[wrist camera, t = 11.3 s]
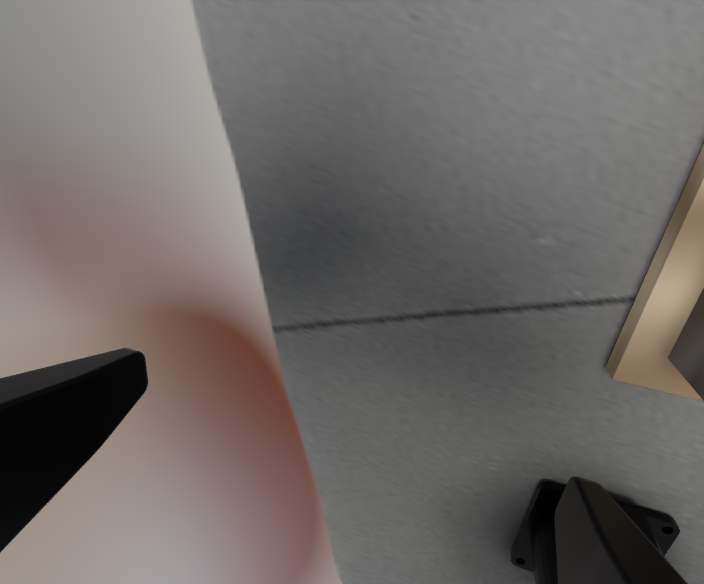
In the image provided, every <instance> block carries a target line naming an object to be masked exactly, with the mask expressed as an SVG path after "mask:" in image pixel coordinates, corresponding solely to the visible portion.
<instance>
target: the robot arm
mask: <svg viewBox="0 0 704 584" xmlns="http://www.w3.org/2000/svg"><path fill="white" fill-rule="evenodd" d="M147 385H148V377H147V369H146V362H145V356H144V355H143V353H141V352H139V351H136V350H132V349H129V348H123V349H118V350H115V351H110V352H106V353H102V354H98V355H94V356H90V357H86V358H82V359H78V360H73V361H69V362H65V363H61V364H57V365H53V366H49V367H45V368H41V369H37V370H33V371H29V372H25V373H21V374H17V375H13V376H9V377H4V378H1V379H0V552H1V551H2V550H3V549H4V548H5V547H6V546H7V545H8V544H9V543H10V542H11V541H12V539H14V538H15V537H16V535H18V533H19V532H20V531H21V530H22V529H23V528H24V527H25V526H26V525H27V524H28V523H29V522H30V521H31V520H32V519H33V518H34V517H35V516H36V515H37V514H38V513H39V512H40V510H41V509H42V508H43V507H44V506H45V505H46V504H47V503H48V502H49V501H50V500H51V499H52V498H53V497H54V496H55V495H56V494H57V493H58V492H59V490H61V488H62V487H63V486H64V485H65V484H66V483H67V482H68V481H69V480H70V479H71V478H72V477H73V476H74V475H75V474H76V473H77V472H78V471H79V470H80V468H82V466H83V465H84V464H85V463H86V462H87V461H88V460H89V459H90V458H91V457H92V456H93V455H94V454H95V453H96V451H97V450H98V449H99V448H100V447H101V446H102V445H103V443H104V442H105V441H106V440H107V439H108V437H109V436H110V435H111V434H112V432H113V431H114V430H115V429H116V427H117V426H118V425H119V424H120V422H121V421H122V420H123V419H124V417H125V416H126V415H127V414H128V413H129V411H130V410H131V408H133V406H134V405H135V404H136V403H137V401H138V400H139V399H140V398H141V396H142V395H143V394H144V392H145V391H146V389H147ZM547 491H551V492H547ZM666 526H667V527H666ZM679 532H680V530H679V527H678V525H677V523H676V521H675V520H674V519H673V518H671V517H669V516H665V515H662V514H659V513H655V512H652V511H648V510H645V509H642V508H638V507H635V506H631V505H628V504H624V503H621V502H618V501H614V500H613V499H612V497H611V496H610V495H609V494H608V493H607V492H606V491H605V489H604V488H603V487H602V486H601V485H600V484H598V483H596V482H594V481H591V480H587V479H584V478H580V477H576V476H575V477H572V478H571V479H570V480H569V481H568V483H567V485H566V486H563V485H560V484H556V483H553V482H548V481H547V482H542V483H540V484H539V486H538V488H537V490H536V493H535V495H534V497H533V500H532V502H531V505H530V507H529V509H528V512H527V514H526V517H525V519H524V521H523V524H522V526H521V528H520V531H519V533H518V536H517V538H516V540H515V543H514V545H513V548H512V550H511V561H512V563H513V564H514V565H516V566H518V567H520V568H523V569H526V570H529V571H532V572H534V573H535V580H536V584H687V582H686V581H685V580H684V579H683V578H682V577H681V576H680V574H679V573H678V572H677V571H676V570H675V569H674V568H673V567H672V565H671V564H670V563H669V562H668V561H667V560H666V559H665V557H664V556H665V554H666V553H667V551H668V550H669V548H670V547H671V545H672V544H673V542H674V541H675V539H676V538H677V536H678V535H679Z"/></svg>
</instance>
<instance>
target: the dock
mask: <svg viewBox="0 0 704 584" xmlns="http://www.w3.org/2000/svg"><path fill="white" fill-rule="evenodd" d="M606 369H607V371H608V373H609V374H610V376H611V378H612V379H613V380H617V381H621V382H626V383H630V384H634V385H639V386H643V387H647V388H651V389H656V390H660V391H664V392H669V393H673V394H677V395H681V396H686V397H690V398H694V399H699V400H703V401H704V144H703V147H702V149H701V151H700V154H699V156H698V158H697V160H696V163H695V165H694V167H693V169H692V172H691V174H690V176H689V179H688V181H687V183H686V185H685V188H684V190H683V192H682V194H681V197H680V199H679V201H678V204H677V206H676V208H675V210H674V213H673V215H672V217H671V219H670V222H669V224H668V226H667V229H666V231H665V233H664V235H663V238H662V240H661V242H660V244H659V247H658V249H657V251H656V253H655V256H654V258H653V260H652V263H651V265H650V267H649V269H648V272H647V274H646V276H645V278H644V281H643V283H642V285H641V288H640V290H639V292H638V294H637V297H636V299H635V301H634V303H633V306H632V308H631V310H630V313H629V315H628V317H627V319H626V322H625V324H624V326H623V328H622V331H621V333H620V335H619V338H618V340H617V342H616V344H615V347H614V349H613V351H612V353H611V356H610V358H609V360H608V363H607V365H606Z"/></svg>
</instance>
